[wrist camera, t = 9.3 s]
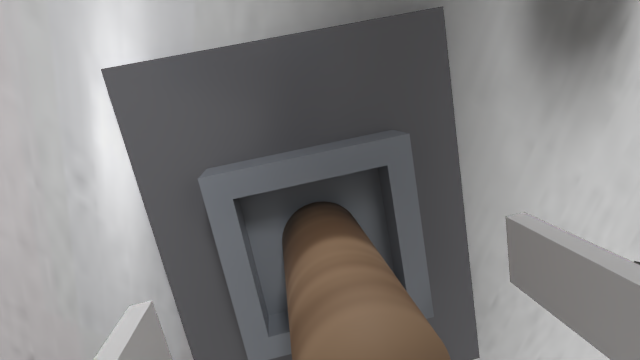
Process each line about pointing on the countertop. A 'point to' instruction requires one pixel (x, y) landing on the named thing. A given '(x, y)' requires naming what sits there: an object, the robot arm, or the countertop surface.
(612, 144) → the countertop surface
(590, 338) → the robot arm
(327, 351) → the peg
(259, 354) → the socket
